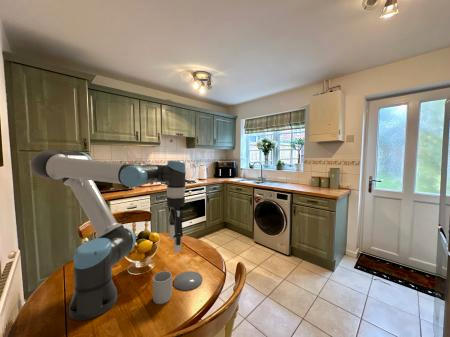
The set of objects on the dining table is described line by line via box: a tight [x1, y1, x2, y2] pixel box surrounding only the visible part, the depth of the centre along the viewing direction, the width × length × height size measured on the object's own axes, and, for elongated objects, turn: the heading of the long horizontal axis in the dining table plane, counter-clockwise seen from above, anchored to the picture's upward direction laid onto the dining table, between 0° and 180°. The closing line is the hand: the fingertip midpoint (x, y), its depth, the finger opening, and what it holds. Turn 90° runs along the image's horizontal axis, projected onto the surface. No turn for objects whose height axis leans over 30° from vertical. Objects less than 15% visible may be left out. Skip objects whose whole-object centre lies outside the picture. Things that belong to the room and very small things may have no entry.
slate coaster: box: [172, 270, 203, 291], centre depth 87 cm, size 13×13×1 cm
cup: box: [152, 270, 173, 305], centre depth 77 cm, size 7×10×9 cm
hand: (174, 244), depth 83 cm, fingers open, 13 cm apart
